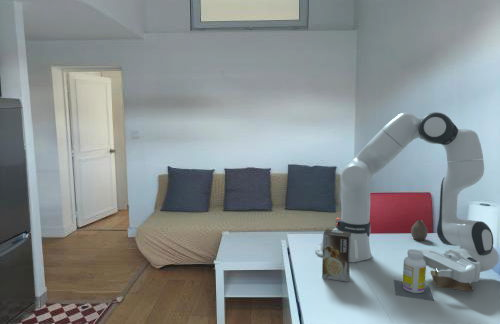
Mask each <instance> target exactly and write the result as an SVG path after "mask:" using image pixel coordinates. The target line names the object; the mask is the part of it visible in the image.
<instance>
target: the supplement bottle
mask: <svg viewBox="0 0 500 324" xmlns="http://www.w3.org/2000/svg"><path fill="white" fill-rule="evenodd" d="M419 250H420V249H412V248H411V249H408V250H407V252H406V253H407V257H405V258H404V259H403V269H402V273H403V274H402V281H403V288H404V289H405V290H406V291H408V292H411V293H422V292H424V289H425V284H426V271H427V266H426V262H425V261H424V260H423V259H422V258H423V252H422V251H419Z"/></svg>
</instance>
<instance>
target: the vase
mask: <svg viewBox="0 0 500 324" xmlns="http://www.w3.org/2000/svg"><path fill="white" fill-rule="evenodd" d="M410 233H411V234H410V235H411V238H413V239H414V240H415V241H424V240H425V239H426V238H428V227H427V226H426V225H425V223H424V221H423V220H422V219H421V220H419V219H417V220H416V221H415V223H414V224H413V225H412V227H411V229H410Z"/></svg>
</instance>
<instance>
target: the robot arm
mask: <svg viewBox="0 0 500 324" xmlns="http://www.w3.org/2000/svg"><path fill="white" fill-rule="evenodd" d="M416 139H421V140H423V141H425V142H427V143H428V144H432V145H441V146H443V147H444V149H445V153H446V154H445V155H446V160H447V161H446V162H447V169H446V172H445V173H446V174H445V176H444V177H443V178H442V180H441V184H440V192H439V193H440V196H439V211H438V212H439V215H438V222H437V226H436V234H437V237H438V238H439V240H440V241H441V242H442V244H444V245H446V246H456V247H457V246H458V247H459V248H452V249H448V250H446V251H445V252H444V253H442V252H439V251H437V250H434V249H429V248H428V249H427V248H426V249H418V250H419V251H422V252H423V258H422V259H423V260H424V261H425V262H426V267H428V268H430V269H432V270H433V271H435V275H437V276H439V277H440V276H445V277H451V278H453V279H455V280H457V281H459V282H462V283H470V284H471V283H473V282H474V283H476V282H479V280H480V275H481V273H483V272H486V271H489V270H490V271H491V270H492V269H494V268H495V267H496V266H497V265H498V263H499V260H500V254H499V253H498V251H497V249H496V248H495V247H494V235H493V232H492V230H491V228H490V227H489V225H488V224H487V223H485V222H484V221H479V220H478V221H477V220H472V219H471V220H470V219H459V218H458V216H457V213H458V212H457V210H458V197H459V194H460V193H461V192H462V191H463V190H464V189H467V188H470V187H471V186H473V185H476V184H477V183H478V182H479V181H481V179H482V178H483V176H484V174H485V161H484V155H483V149H482V144H481V141H480V138H479V135H478V133H476V131H474V130H472V129H467V128H461V129H459V127H457V126H456V124H455V123H454V122H453V121H452V120H451V118H450V117H449V116H448V115H446V114H444V113H443V112H438V111H437V112H435V111H434V112H429V113H428V114H426V115H424V116H423V117H421V118H420V117H417V116H416V115H414V114H413V113H411V112H406V111H405V112H401V113H398V114H397V115H396V116H395V117H393V118H392V119H391V120H390V121H388V123H386V124H385V125H384V126H383V127H382V129H380V130H379V132H378V133H376V134H375V136H373V137H372V138H371V139H370V140H369V141H368V142H367V143H366V145H365V146H364V147H363V148H362V149H361V150H360V151H358V153H357V154H356V155H355V156H354V157H353V158H352V159H351V160H350V161H349V162H348V163H346V165H345V166H344V167H343V168H342V170H341V173H340V184H341V186H340V188H341V189H340V190H341V215H340V216H341V217H336V218H335V227H334V228H333V229H332V230H338V231H346V232H351V243H350V263H358V262H361V261H367V260H369V259H371V258H372V257H373V255H372V251H371V246H370V235H371V226H372V225H371V221H370V217H371V216H370V215H371V212H370V211H371V184H372V183H371V181H372V179H373V178H374V177H375V176H376V175H377V174H378V173H379V172H381V171H382V170H383V169H384V168H385V167H386V166H387V165H389V164H390V163H391V162H392V161H393V160H394V159H395V158H396V157H397V156H398V155H399V154H400V153H401V152H402V151H403V150H405V148H406V147H408V145H409V144H410V143H411V142H413V141H414V140H416ZM315 254H316V256H320V257H323V238H322V239H321V243H319V244H317V246H316V247H315Z"/></svg>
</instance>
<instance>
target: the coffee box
mask: <svg viewBox="0 0 500 324" xmlns="http://www.w3.org/2000/svg"><path fill="white" fill-rule="evenodd" d="M322 239H323V256H322V266H321V267H322V268H321V269H322V270H321V271H322V273H321V275H322V276H321V278H322V279H327V280H335V281H339V282H340V281H341V282H346V283H348V282H349V281H350V277H351V275H350V272H351V271H350V268H351V267H350V266H351V262H350V243H351V232H346V231H338V230H333V229H330V228H329V229H328V228H327V229H325V230H324V231H323V234H322Z"/></svg>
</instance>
